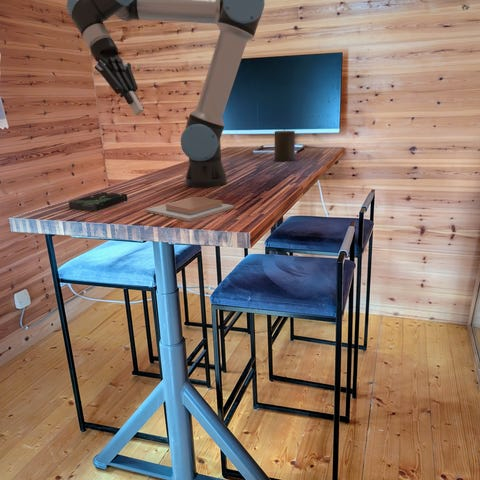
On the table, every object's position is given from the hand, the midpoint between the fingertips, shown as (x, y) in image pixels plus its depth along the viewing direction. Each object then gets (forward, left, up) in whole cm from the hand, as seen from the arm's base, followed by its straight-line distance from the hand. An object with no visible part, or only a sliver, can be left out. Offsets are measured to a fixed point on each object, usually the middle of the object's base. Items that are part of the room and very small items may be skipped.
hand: (139, 112), depth 133 cm
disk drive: (+8, -12, -27) cm, 31 cm away
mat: (+14, +18, -26) cm, 35 cm away
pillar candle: (-86, +35, -27) cm, 97 cm away
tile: (+12, +15, -25) cm, 32 cm away
